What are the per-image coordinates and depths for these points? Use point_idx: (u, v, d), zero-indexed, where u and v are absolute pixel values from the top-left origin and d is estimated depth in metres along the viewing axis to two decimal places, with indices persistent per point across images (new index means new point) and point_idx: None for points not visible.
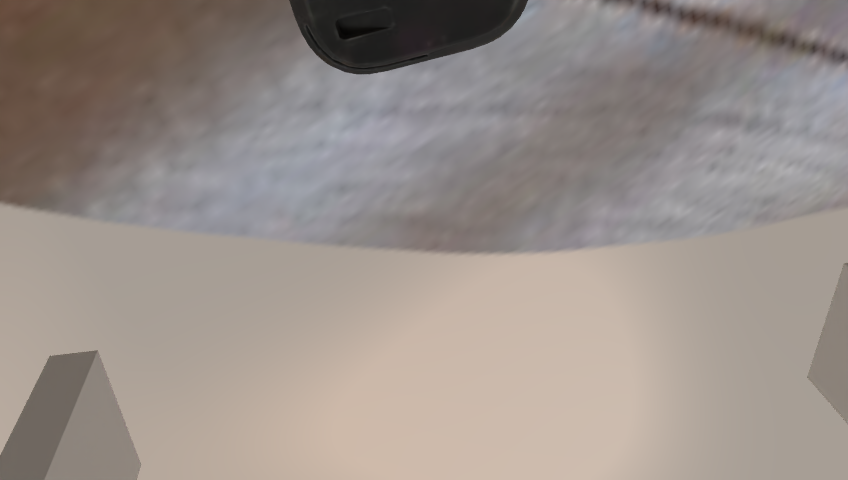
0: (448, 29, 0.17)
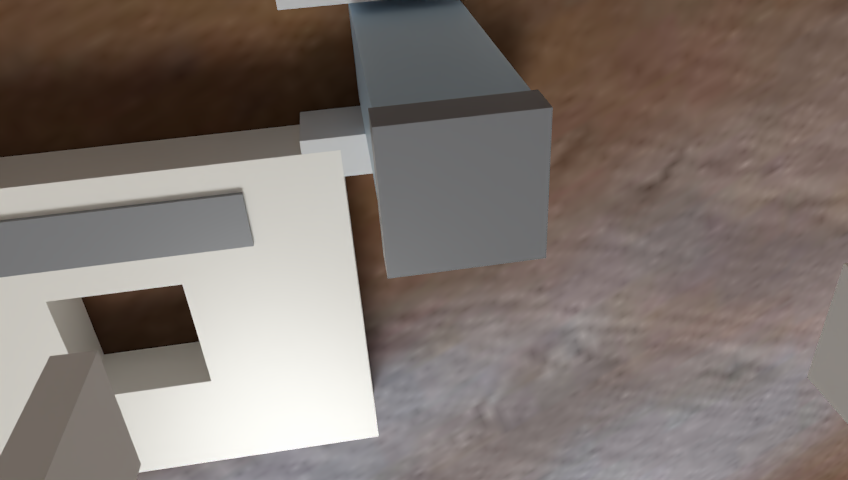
0: None
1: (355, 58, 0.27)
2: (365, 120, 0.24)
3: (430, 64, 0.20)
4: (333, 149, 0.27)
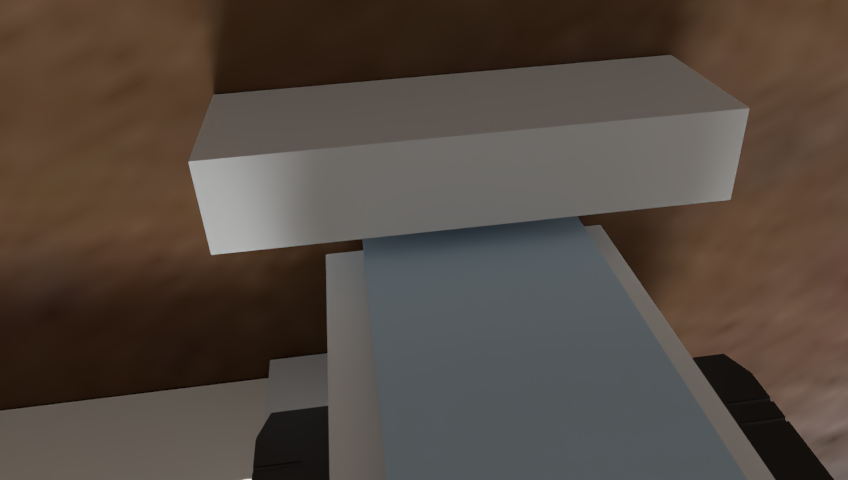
0: None
1: None
2: None
3: None
4: None
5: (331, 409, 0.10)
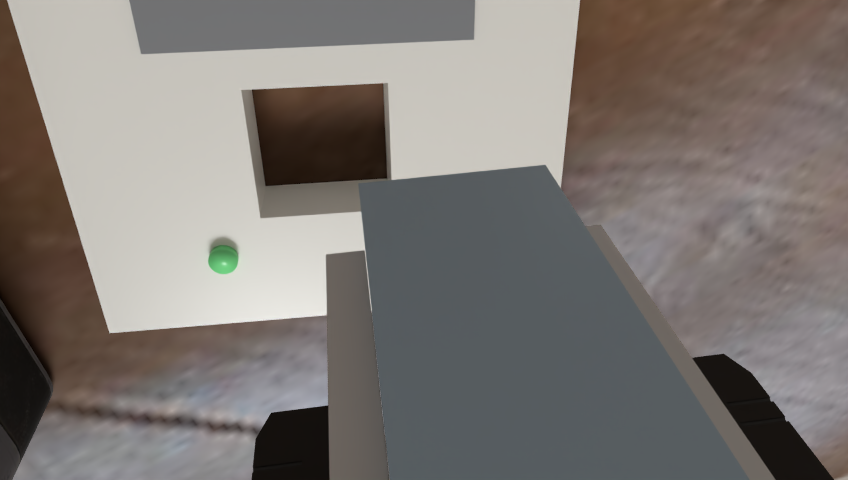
0: None
1: None
2: None
3: None
4: None
5: (331, 409, 0.10)
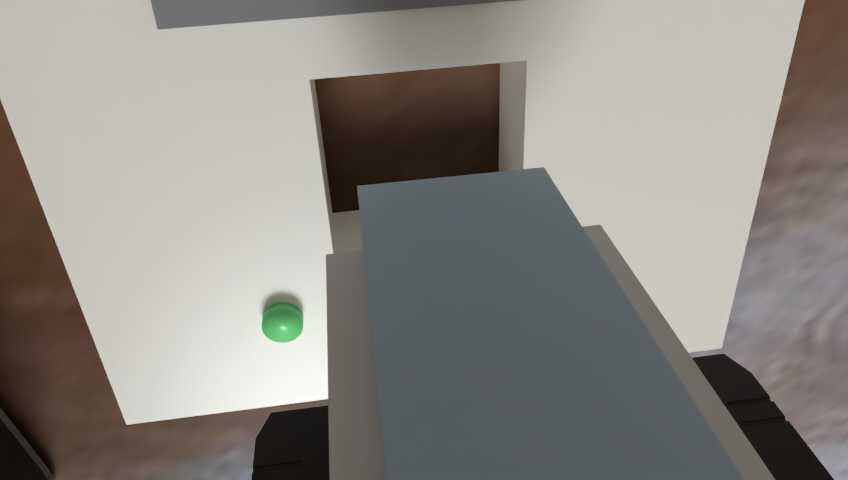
0: None
1: None
2: None
3: None
4: None
5: (331, 409, 0.10)
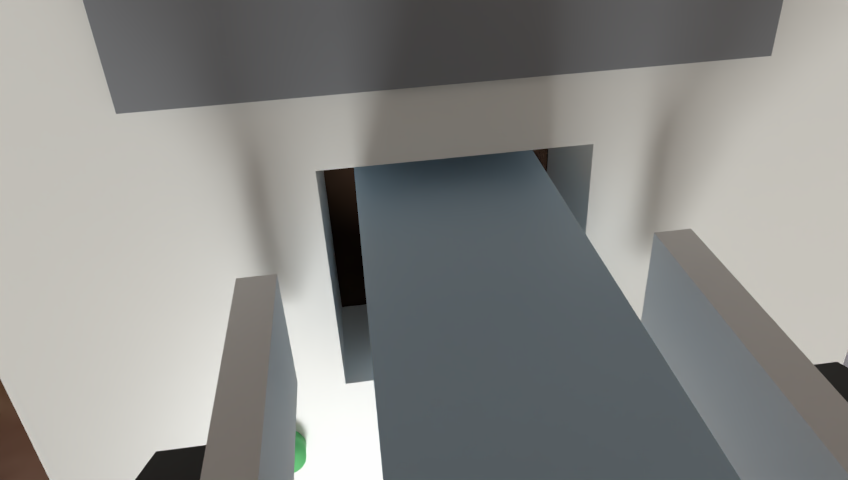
0: None
1: None
2: None
3: (524, 409, 0.09)
4: None
5: (207, 451, 0.09)
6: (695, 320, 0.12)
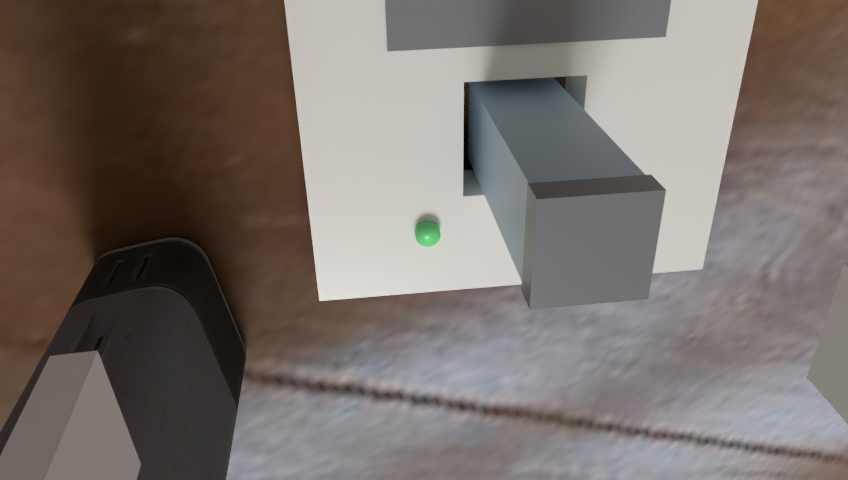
0: None
1: (474, 129, 0.33)
2: (490, 182, 0.30)
3: (560, 147, 0.26)
4: None
5: None
6: None
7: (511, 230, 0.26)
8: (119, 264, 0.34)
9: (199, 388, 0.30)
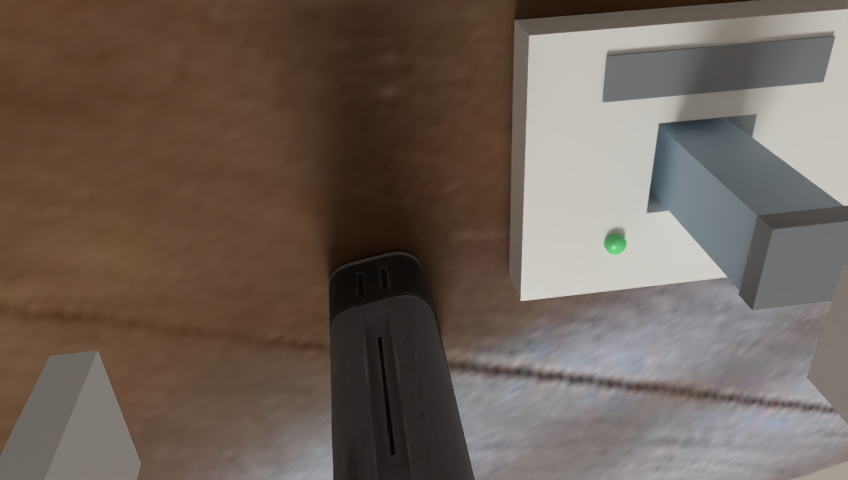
0: None
1: (655, 158, 0.40)
2: (684, 204, 0.37)
3: (763, 182, 0.33)
4: None
5: None
6: None
7: (721, 247, 0.33)
8: (358, 276, 0.41)
9: (448, 375, 0.38)
